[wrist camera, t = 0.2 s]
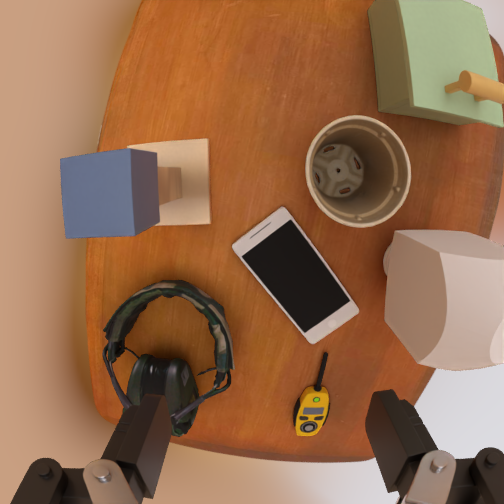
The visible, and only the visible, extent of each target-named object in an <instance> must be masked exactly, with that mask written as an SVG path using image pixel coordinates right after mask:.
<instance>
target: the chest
mask: <svg viewBox="0 0 504 504" xmlns="http://www.w3.org/2000/svg"><path fill="white" fill-rule="evenodd" d="M367 12H368V18H369V25H370V31H371V39H372V46H373V55H374V64H375V74H376V86H377V99H378V112H385V113H392V114H400V115H406V116H413V117H419V118H425V119H430V120H436V121H441V122H446V123H451V124H455V125H464V124H471V123H477V121H473V120H469V119H465V118H461V117H457V116H452V115H448V114H443V113H438V112H433V111H428V110H423V109H417V108H412V107H410V100H409V88H408V78H407V69H406V61H405V54H404V47H403V40H402V34H401V29H400V23H399V18H398V13H397V8H396V3H395V0H375V1H374V2H373V3H372V5H371V6H370V8H369V9H368V10H367Z"/></svg>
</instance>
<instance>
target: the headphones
mask: <svg viewBox="0 0 504 504" xmlns="http://www.w3.org/2000/svg"><path fill="white" fill-rule="evenodd" d="M161 295H163V296H164V297H168V298H172V297H174V296H179V297H182V298H184V299H186V300H188V301H190V302H191V303H192V304H193V305H194V306H195V308H196V309H197V310H198V311H199V312H200V313H202V314H204V315H205V317H206V318H207V319H208V321H209V323H208V325H209V330H210V333H211V334H212V336H213V337H214V339H215V350H214V357H215V364H216V367H215V368H210V369H207V370H206V371H203V372H200V373H199V374H198V375H201V374H204V373H206V372H208V371H211V370H215V369H217V374H216V376H215V377H216V380H215V381H214V387H213V388H212V390H210V391H209V392H207V393H206V394H204V395H202V396H199V393H198V388H197V385H196V382H195V379H194V376H193V374H192V371H191V368H190V366H189V365H188V363H187V362H186V361H185V360H183V359H181V358H175V359H173V360H169V359H162V358H156V357H155V356H153V355H150V354H144V355H141V356H140V357H138V356H137V355H136V354H135V353H134V352H133V351H131V350H130V349H128V348H127V347H125V337H126V335H127V334H128V333H129V332H130V331H131V329H132V328H133V326H134V324H135V322H136V320H137V318H138V316H139V314H140V313H141V312H142V311H144V310H145V309H146V307H147V305H148V303H149V302H151V301H153V300H155V299H157V298H158V297H160V296H161ZM103 331H104V332H106V336H105V337H106V339H107V340H108V344H107V345H106V346H105V348H104V350H103V359H104V362H105V364H106V367H107V370H108V372H109V375H110V377H111V381H112V384H113V387H114V389H115V391H116V393H117V395H118V397H119V399H120V401H121V403H122V405H123V406H124V408H123V412H124V411H125V410H127V409H128V408H129V407H130V406H131V405H132V404H133V405H140V403H141V401H142V398H143V396H144V395H145V394H154V395H164V396H165V398H166V402H167V406H168V410H169V415H170V419H171V424H172V433H171V435H172V436H177V437H180V436H182V435H183V434H187V432H188V430H189V429H190V428H191V426H192V424H193V422H194V419H195V416H196V413H197V410H198V406H199V404H201V403H202V402H204V400H205V399H207V398H209V397H211V396H214V395H216V394H218V393H220V392H223V391H225V390H226V389H227V388H228V387H229V386H230V384H231V374H230V369H233V370H234V369H235V366H234V361H233V341H232V338H231V334H230V330H229V325H228V323H227V321H226V319H225V314H224V308H223V306H221V305H220V304H219V303H217V302H216V301H215V300H214V299H213V298H211V297H210V296H209V295H207V294H206V293H204V292H203V291H202V290H200V289H199V288H197V287H196V286H194V285H192V284H190V283H188V282H185V281H182V280H163V281H160V282H158V283H154V284H151V285H149V286H147V287H145V288H143V289H141V290H140V291H138V292H136V293H135V294H133V295H132V296H131V297H130V298H129V299H127V300H126V301H125V302H124V303H123V304H122V305H121V306H120V307H119V308H118V309H117V310H116V312H115V313H114V314H113V316H112V317H111V319H110V320H109V322H108V323H107V325H106V327H105V328H104V329H103ZM124 349H126V350H128V351H130V352H131V353H132V354H134V355H135V356H136V357H137V358H138V360H137V361H136V363H135V364H134V366H133V369H132V372H131V375H130V379H129V382H128V387H127V393H126V395H125V394H124V392H123V391H122V389H121V387H120V385H119V383H118V381H117V379H116V377H115V374H114V371H113V367H112V363H114V362H115V361H116V360H117V359H116V357H120V355H121V354H123V353H124V352H125V350H124ZM107 350H108V360H107V357H106V354H107ZM226 374H227V376H228V378H227V384H226V385H225V386H224V387H222V388H221V389H216V388H218V387H219V386H220V384H221V382H222V381H224V380H225V377H226Z"/></svg>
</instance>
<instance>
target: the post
mask: <svg viewBox="0 0 504 504" xmlns="http://www.w3.org/2000/svg"><path fill="white" fill-rule="evenodd" d="M127 148H133V149H139V150H145V151H151V152H157V165H158V192H159V211H160V222H159V223H157V224H156V225H154V226H165V225H200V224H211V223H212V215H211V185H210V140H209V139H208V138H205V139H189V140H176V141H165V142H154V143H145V144H136V145H128V146H127Z"/></svg>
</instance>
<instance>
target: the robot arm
mask: <svg viewBox="0 0 504 504" xmlns="http://www.w3.org/2000/svg"><path fill="white" fill-rule="evenodd" d="M365 427H366V433H367V436H368V438H369V441H370V444H371V446H372V449H373V452H374V455H375V457H376V460H377V463H378V466H379V468H380V471H381V474H382V477H383V480H384V482H385V486H386V488H387V491H388V493H390V492H394V491H398V492H399V495H400V496H399V498H398V500H397V502H396V504H504V454H503V452H502V451H500V450H498V449H496V448H484V449H482V450H481V451H480V452H479V453H478V454H477V455H476V457H475V458H468V459H454V457H453V456H452V455H451V454H450V453H448V452H446V451H442V450H438V448H437V446H436V445H435V443H434V441H433V439H432V437H431V436H430V434H429V432H428V430H427V428H426V427H425V425H424V424H423V422H422V420H421V418H420V417H419V415H418V413H417V411H416V409H415V408H414V406H412V405H411V404H410V403H409V402H407V401H406V400H405V399H404V400H399V399H398V397H397V395H396V393H395V392H394V390H392V389H390V390H384V391H377V392H374V393H373V395H372V398H371V402H370V406H369V409H368V413H367V417H366V422H365ZM171 433H172V424H171V419H170V415H169V410H168V406H167V402H166V398H165V396H164V395H154V394H145V395H144V396H143V398H142V401H141V403H140V405H133V404H132V405H131V406H130V407H129V408H128V409H127V410H125V411H124V412H123V414H122V416H121V418H120V420H119V423H118V424H117V426H116V428H115V431H114V432H113V435H112V436H111V439H110V441H109V443H108V445H107V447H106V449H105V451H104V453H103V455H102V457H101V459H98V460H95V461H92V462H90V463H89V464H88V465H87V466H86V467H85V468H81V469H75V468H74V469H73V468H72V469H71V468H62V467H61V466H60V464H59V463H58V462H57V461H55V460H54V459H51V458H41V459H38V460H36V461H35V462H33V463H32V464H31V466H30V467H29V469H28V471H27V473H26V475H25V476H24V478H23V480H22V482H21V484H20V486H19V488H18V490H17V492H16V493H15V495H14V497H13V500H12V502H11V503H10V504H142V501H143V498H144V497H145V498H151V499H153V497H154V494H155V490H156V486H157V483H158V479H159V476H160V472H161V469H162V465H163V462H164V458H165V455H166V451H167V448H168V445H169V441H170V438H171Z"/></svg>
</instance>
